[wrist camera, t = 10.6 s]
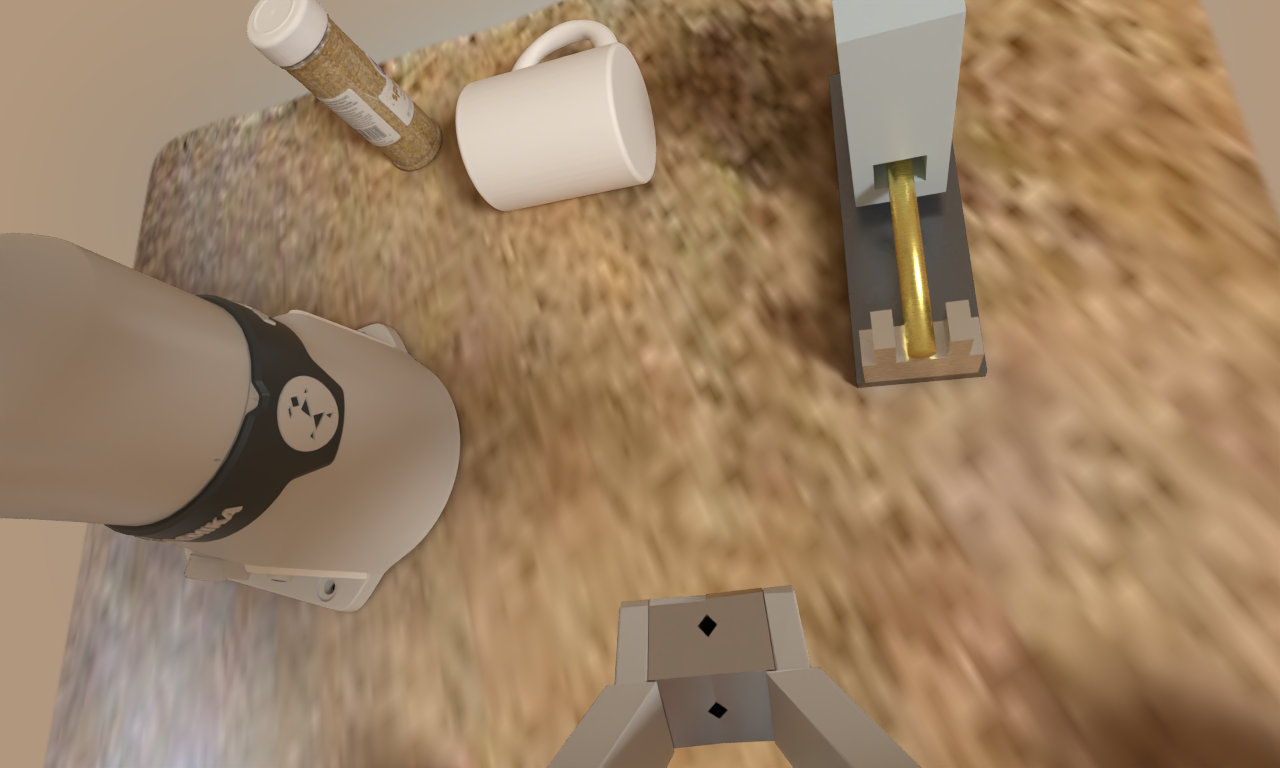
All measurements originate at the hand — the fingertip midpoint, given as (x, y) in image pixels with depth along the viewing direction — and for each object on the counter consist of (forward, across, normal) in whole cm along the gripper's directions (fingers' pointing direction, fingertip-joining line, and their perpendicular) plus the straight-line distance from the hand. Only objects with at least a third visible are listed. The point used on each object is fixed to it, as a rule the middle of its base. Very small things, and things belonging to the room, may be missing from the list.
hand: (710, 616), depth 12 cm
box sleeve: (+29, -12, +1) cm, 32 cm away
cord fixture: (+29, -12, +4) cm, 32 cm away
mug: (+40, +6, 0) cm, 41 cm away
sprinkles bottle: (+45, +19, -1) cm, 49 cm away
